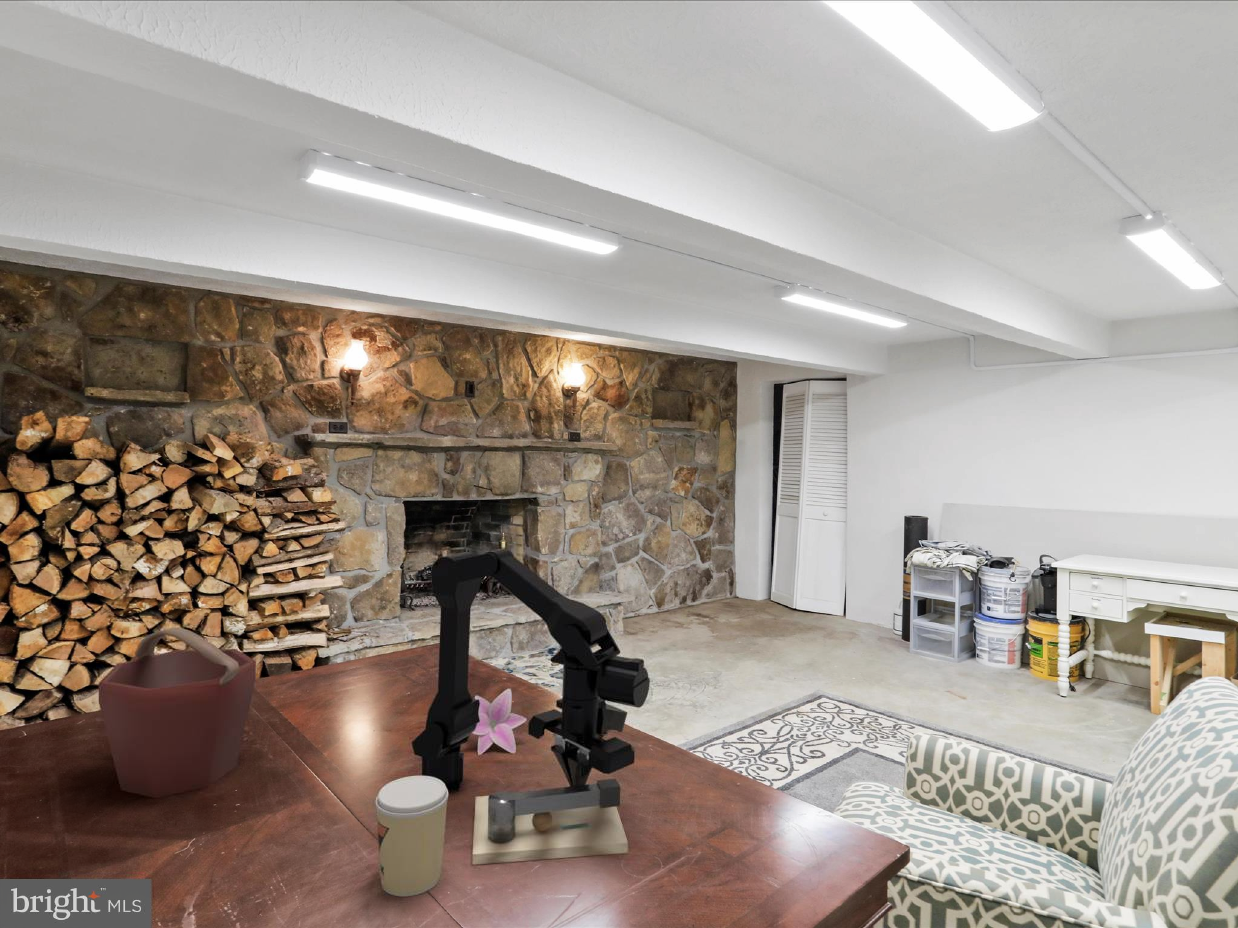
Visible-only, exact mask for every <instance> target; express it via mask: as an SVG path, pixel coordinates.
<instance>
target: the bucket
mask: <svg viewBox="0 0 1238 928" xmlns="http://www.w3.org/2000/svg"><path fill="white" fill-rule="evenodd" d="M165 636H169V637H173V638H174V639H177V640H178V641H181V642H183V643H184V644H186V645H187V646H188V647H189V648H190V649H176V650H175V649H174V650H172V651H167V652H163V653H157V654H155V653H154V650H155V649H156V646H157V645H158V643H159V642H160V640H161V639H162V638H164V637H165ZM191 648H192V649H191ZM134 658H135V659H132V660H129V661H124V662H120V663H117V664H116V665H115V666H114V667H112V669H111V670H110V671H109V672H108V673H107V674H106V675H105V676H104V677H103V678H102V679H101V680H100V681H99V682H98V705H99V709H100V714H101V717H102V720H103V724H104V728H105V731H106V736H107V740H108V744H109V748H110V753H111V756H112V760H113V764H114V768H115V771H116V772H115V773H116V775H117V776H116V777H117V780H118V784H119V787H120V790H121V791H122V792H127V793H132V794H137V795H141V796H144V797H150V798H154V799H156V798H162V797H166V796H171V795H176V794H180V793H184V792H189V791H194V790H198V789H203V788H208V787H210V786H211V785H213V784H214V783H216V782H217V781H218V780H219V779H221V778H222V777H223V776H225V775H226V774H227V773H228V772H230V771H231V770H233V769H234V768H236V767H237V763H238V759H239V756H240V755H239V754H240V751H241V746H242V741H243V737H244V732H245V727H246V723H247V719H248V714H249V711H250V705H251V702H252V695H253V692H254V687H255V683H256V679H257V661H256V660H255V659H253V658H251V657H250V656H249V655H247V654H245V653H243V652H242V651H240V650H238V649H236V648H218V646H217V645H215V644H213V643H212V642H210V641H209V640H206V639H205V638H203V637H202V636H200V635H199V634H197V633H196V632H193V631H191V630H189V629H185V628H183V627H171V628H167V629H162V630H158V631H156V632H153V633H151V634H148V635H147V636H145V637H143V639H141V640H140V642H139V644H138V645H137V648H136V649H135V652H134Z"/></svg>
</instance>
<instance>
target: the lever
mask: <svg viewBox="0 0 1238 928" xmlns="http://www.w3.org/2000/svg"><path fill="white" fill-rule="evenodd" d="M488 796H489V797H488V839H489V840H491V841H493V842H497V843H503V842H507V841H510V840H512V839H513V838H514V837H515V829H516V816H519V815H527V814H535V813H543V812H551V811H560V810H568V809H576V808H584V807H592V806H600V808H608V807H620V806H621V785H620V784H619V782H618V780H617V778H615V777H614V778H608V779H598V780H596V783H589V784H588V783H587V784H585V785H579V786H570V785H569V786H563V787H555V788H547V789H546V788H545V789H536V790H530V791H529V790H528V791H519V792H518V791H517V792H512V791H507V790H499V791H498V790H497V791H495V792H493V793H491V794H490V795H488Z"/></svg>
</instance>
